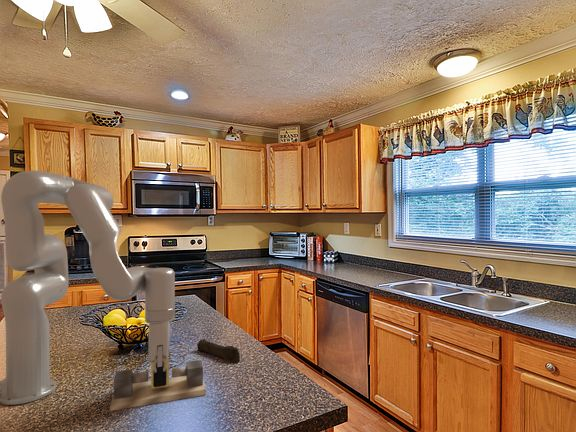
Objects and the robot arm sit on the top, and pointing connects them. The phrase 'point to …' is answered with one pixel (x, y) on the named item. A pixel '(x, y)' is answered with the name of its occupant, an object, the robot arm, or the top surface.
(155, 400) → the shaft mount
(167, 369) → the yellow rectangular block
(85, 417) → the top surface
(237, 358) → the hand tool
